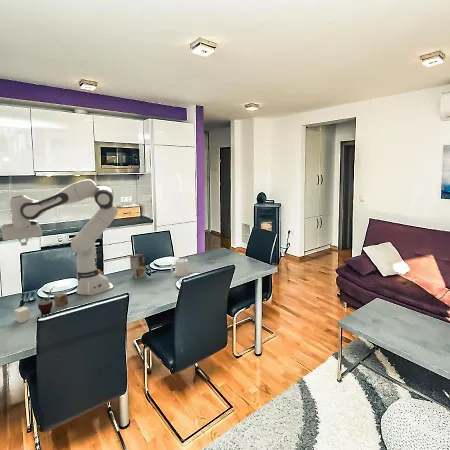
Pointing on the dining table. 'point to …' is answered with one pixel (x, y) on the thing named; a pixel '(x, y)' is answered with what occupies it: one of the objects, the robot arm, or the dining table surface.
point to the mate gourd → (45, 305)
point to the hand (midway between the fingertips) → (24, 245)
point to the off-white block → (22, 314)
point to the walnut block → (60, 299)
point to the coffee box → (138, 265)
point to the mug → (180, 267)
